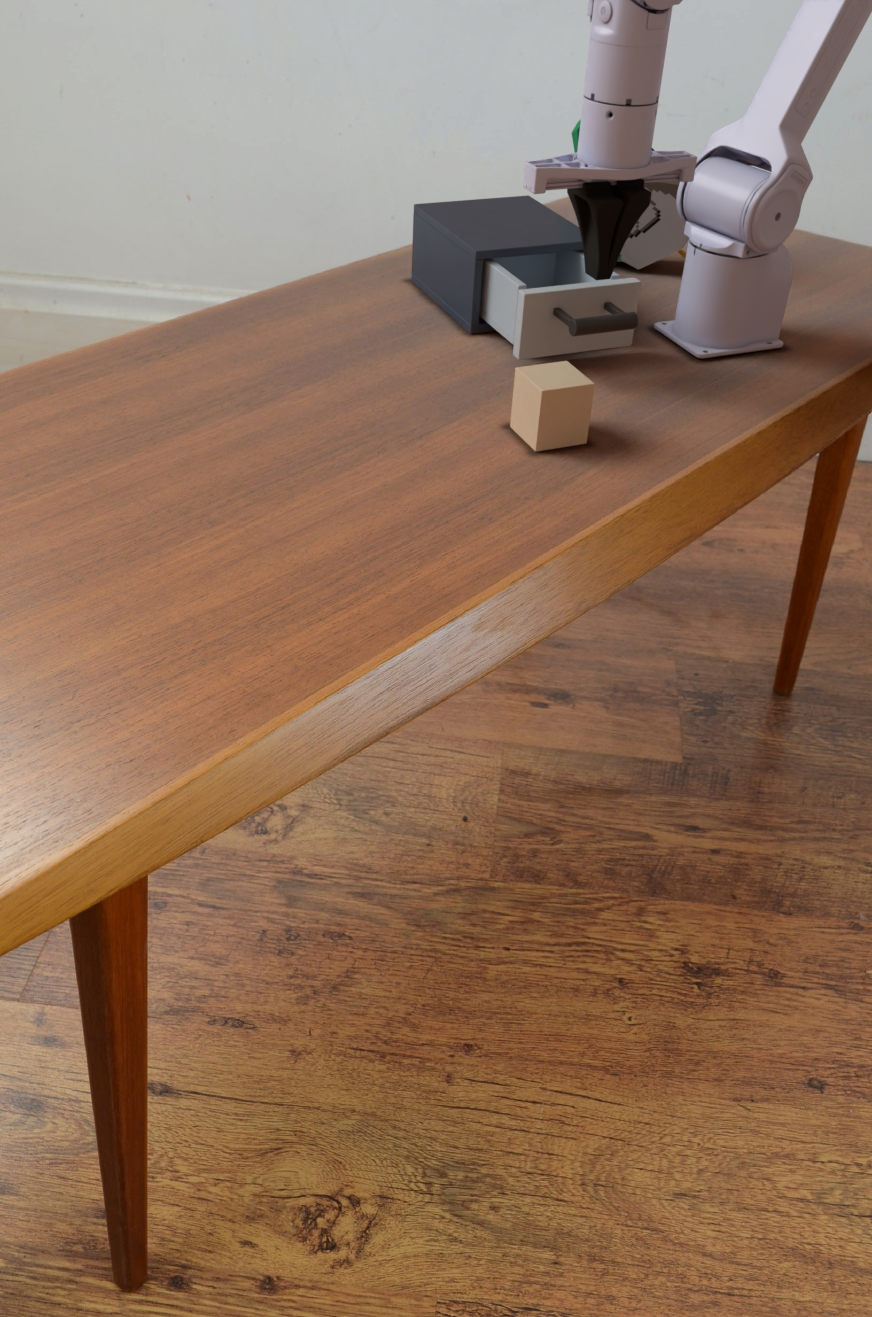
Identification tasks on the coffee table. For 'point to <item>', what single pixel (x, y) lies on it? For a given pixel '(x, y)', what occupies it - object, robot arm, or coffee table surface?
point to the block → (551, 405)
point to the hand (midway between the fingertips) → (597, 275)
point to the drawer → (556, 304)
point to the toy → (652, 224)
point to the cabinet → (479, 247)
